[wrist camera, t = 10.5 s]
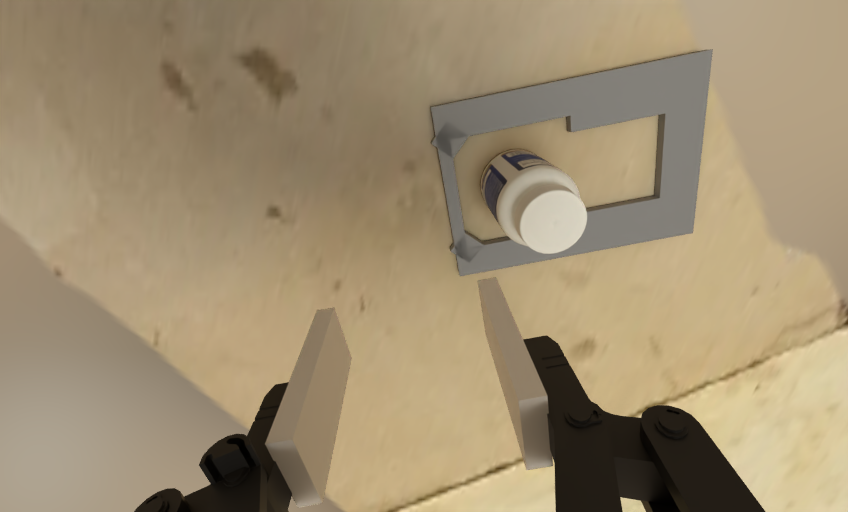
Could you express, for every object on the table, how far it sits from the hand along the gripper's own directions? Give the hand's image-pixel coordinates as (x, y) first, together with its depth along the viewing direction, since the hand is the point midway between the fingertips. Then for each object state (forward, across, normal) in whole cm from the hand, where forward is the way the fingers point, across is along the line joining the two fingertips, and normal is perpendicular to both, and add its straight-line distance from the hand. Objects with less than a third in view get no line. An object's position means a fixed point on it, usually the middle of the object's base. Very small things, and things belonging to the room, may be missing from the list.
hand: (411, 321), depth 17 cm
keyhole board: (+17, +13, 0) cm, 21 cm away
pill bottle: (+17, +8, 0) cm, 19 cm away
